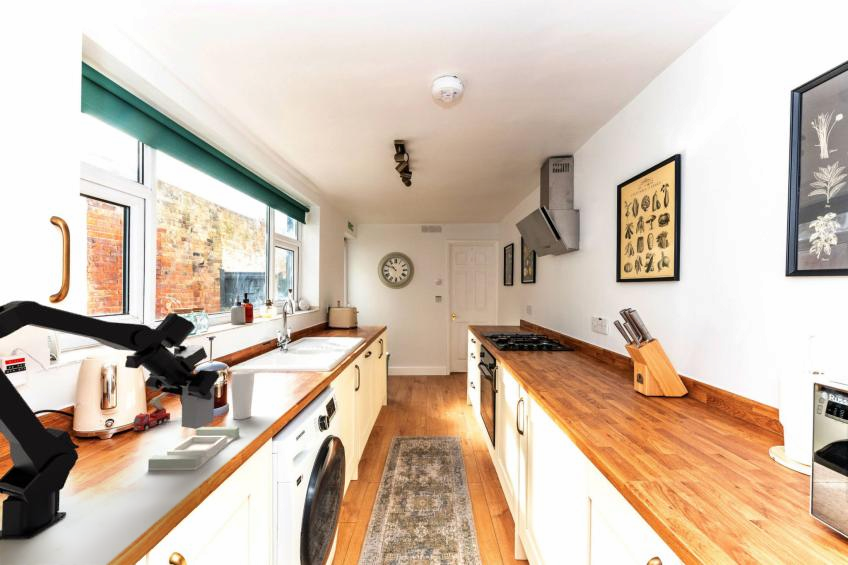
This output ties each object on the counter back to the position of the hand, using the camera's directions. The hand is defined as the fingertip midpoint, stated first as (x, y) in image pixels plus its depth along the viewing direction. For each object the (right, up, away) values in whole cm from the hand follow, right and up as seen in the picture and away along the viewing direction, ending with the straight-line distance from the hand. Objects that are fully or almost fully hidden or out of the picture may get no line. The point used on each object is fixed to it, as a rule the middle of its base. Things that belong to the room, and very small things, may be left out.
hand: (203, 397), depth 95 cm
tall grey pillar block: (0, -7, -1) cm, 7 cm away
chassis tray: (0, -13, -2) cm, 14 cm away
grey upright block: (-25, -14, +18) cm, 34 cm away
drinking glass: (-2, -14, +23) cm, 27 cm away
